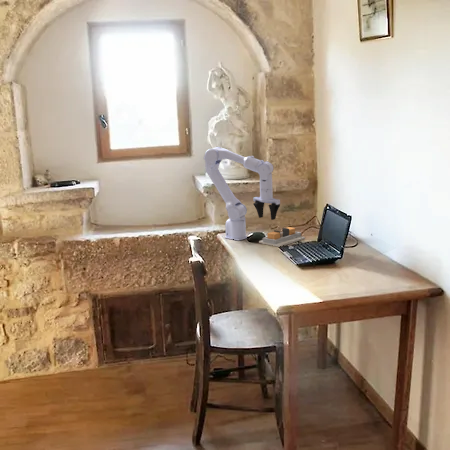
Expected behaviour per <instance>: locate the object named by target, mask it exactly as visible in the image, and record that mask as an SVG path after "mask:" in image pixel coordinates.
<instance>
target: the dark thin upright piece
mask: <svg viewBox="0 0 450 450" xmlns="http://www.w3.org/2000/svg"><path fill="white" fill-rule="evenodd" d="M326 207H327V206H324V207H323V211H322V215H321V219H320V220H321V221H320V225H319V231H318V235H317V243H318V242H320V241H321V240H322V234H321V225H322V221H323V217H324V212H325V209H326Z"/></svg>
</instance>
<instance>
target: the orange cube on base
mask: <svg viewBox="0 0 450 450" xmlns="http://www.w3.org/2000/svg"><path fill="white" fill-rule="evenodd" d="M280 233H281V230H277V229H276V230H275V229H274V230H273V231H271V232H268V233H267V236H266V237H268V238H269V239H274V240H276V239H279V238H281V234H280Z"/></svg>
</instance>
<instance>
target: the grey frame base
mask: <svg viewBox="0 0 450 450" xmlns="http://www.w3.org/2000/svg"><path fill="white" fill-rule="evenodd" d="M280 234H281V238H279V239H276V240H274V239H269V238H268V236H264V237H262V239H261V240H259V241H258V243H259V244H263V245H268V246H272V245H273V247H277V248H280V246H281V247H284V246H286V245H289V244H293V243H297V242H299V241H302V240H305V239H306V237H305V236H302V232H300V231H296V228H295V227H289V226H287V227H282V232H281V231H280ZM283 245H284V246H283Z"/></svg>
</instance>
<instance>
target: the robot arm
mask: <svg viewBox="0 0 450 450" xmlns="http://www.w3.org/2000/svg"><path fill="white" fill-rule="evenodd" d="M203 160H204V163H205V172H206V174H207V175H208V176H209V177H208V178H209V179H210V180H211V182H212V183H213V184H214V187H215V188H216V190H217V191H218V194H220V197H221V198H222V200H223V201H224V203H225V210H226V211H227V216H228V219H227V220H226V221H225V236H224V238H225V239H228V240H229V239H230V240H233V239H234V240H233V241H242V240H245V239H248V238H247V236H248V235H247V227H246V225H247V224H246V215H247V211H248V209H247V207H246V205H245V204H244V203H242V202H241V200H240V199H238V198H237V197H236V196H235V194H234V193H233V191H232V190H231V187H230V186H229V184H228V182H227V181H226V179H225V178H224V176H223V175H222V173H221V171H220V170H219V167H220V164H221V162H222V160H229V161H233V162H235V163H239V164H242V165H243V168H244V169H247V170H250V171H252V172H255V173H257V174H258V176H259V196H255V197H252V198H253V202H254V203H253V206H254V207H255V211H256V212H257V213H256V214H257V215H258V218H259V219H261V218H263V217H264V207H265V203H266V204H269V205H268V208H269V210H270V211H269V212H270V219H271V221H274V220H276V219H277V218H276V217H277V214H278V210H279V208H280V206H281V199H279V198H275V197H274V195H273V188H274V187H273V171H274V165H273V163H271V162H269V161H264V159H258V158H255V155H248V156H244V155H241V154H239V153H236V152H234V151H232V150H229V149H227V148H225V147H224V148H223V147H221V146H216V147H215V146H214V147H213V148H208V149H207V150H206V151H205V153H204V155H203Z"/></svg>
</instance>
